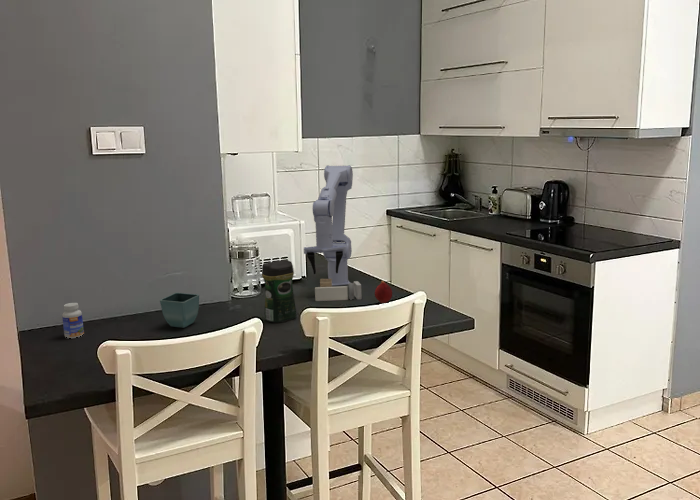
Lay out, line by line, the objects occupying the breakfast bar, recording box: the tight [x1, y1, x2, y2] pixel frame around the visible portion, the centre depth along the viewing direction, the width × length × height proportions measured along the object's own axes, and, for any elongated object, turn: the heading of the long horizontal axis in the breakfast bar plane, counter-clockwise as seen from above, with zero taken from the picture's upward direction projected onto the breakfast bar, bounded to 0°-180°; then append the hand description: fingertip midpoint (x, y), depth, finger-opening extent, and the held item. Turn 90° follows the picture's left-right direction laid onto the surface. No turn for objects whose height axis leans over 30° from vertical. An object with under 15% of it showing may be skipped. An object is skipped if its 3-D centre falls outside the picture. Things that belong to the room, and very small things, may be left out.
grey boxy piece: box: [347, 280, 362, 301], centre depth 226 cm, size 5×4×6 cm
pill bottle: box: [61, 302, 85, 339], centre depth 194 cm, size 5×5×10 cm
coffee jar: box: [261, 259, 297, 323], centre depth 204 cm, size 10×8×19 cm
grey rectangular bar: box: [314, 285, 349, 302], centre depth 225 cm, size 11×2×4 cm, turn 92°
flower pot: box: [159, 292, 200, 329], centre depth 201 cm, size 9×9×9 cm
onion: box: [374, 280, 393, 304], centre depth 217 cm, size 6×6×8 cm
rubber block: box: [319, 278, 333, 287], centre depth 230 cm, size 6×4×6 cm, turn 2°
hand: (325, 273), depth 229 cm, fingers open, 7 cm apart
